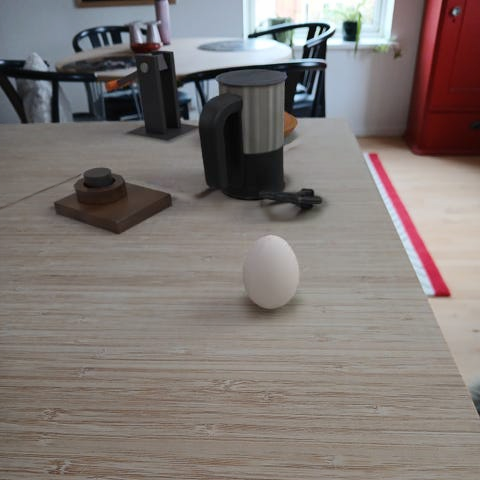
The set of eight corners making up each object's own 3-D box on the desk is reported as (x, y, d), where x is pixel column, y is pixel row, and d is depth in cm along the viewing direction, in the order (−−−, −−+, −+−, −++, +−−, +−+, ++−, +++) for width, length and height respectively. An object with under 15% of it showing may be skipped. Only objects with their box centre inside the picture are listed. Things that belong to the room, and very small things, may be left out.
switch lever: (108, 94, 95) (102, 81, 94) (127, 88, 98) (122, 75, 97) (153, 72, 86) (147, 57, 85) (173, 66, 89) (167, 52, 88)
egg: (309, 307, 49) (313, 238, 45) (266, 328, 47) (265, 258, 42) (275, 284, 53) (275, 218, 48) (233, 302, 50) (229, 235, 46)
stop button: (80, 186, 68) (77, 174, 67) (100, 178, 70) (98, 165, 69) (99, 192, 66) (96, 179, 65) (119, 182, 69) (116, 170, 68)
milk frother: (235, 173, 78) (230, 66, 70) (338, 183, 74) (346, 70, 65) (196, 211, 68) (184, 91, 59) (313, 226, 63) (319, 98, 54)
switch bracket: (128, 138, 95) (114, 55, 86) (160, 125, 100) (150, 47, 92) (168, 147, 90) (158, 59, 82) (200, 133, 96) (193, 50, 87)
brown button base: (56, 213, 69) (49, 189, 67) (110, 188, 75) (106, 165, 73) (119, 234, 63) (113, 208, 61) (172, 205, 70) (169, 180, 68)
